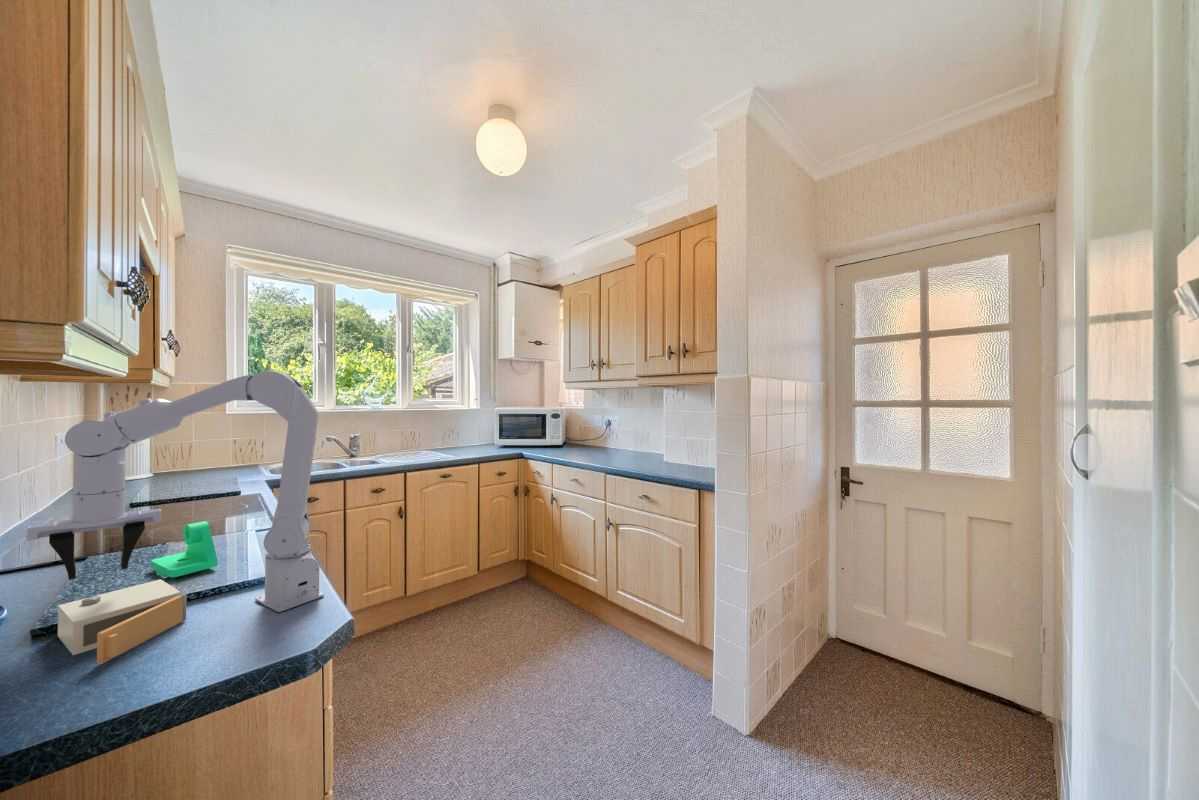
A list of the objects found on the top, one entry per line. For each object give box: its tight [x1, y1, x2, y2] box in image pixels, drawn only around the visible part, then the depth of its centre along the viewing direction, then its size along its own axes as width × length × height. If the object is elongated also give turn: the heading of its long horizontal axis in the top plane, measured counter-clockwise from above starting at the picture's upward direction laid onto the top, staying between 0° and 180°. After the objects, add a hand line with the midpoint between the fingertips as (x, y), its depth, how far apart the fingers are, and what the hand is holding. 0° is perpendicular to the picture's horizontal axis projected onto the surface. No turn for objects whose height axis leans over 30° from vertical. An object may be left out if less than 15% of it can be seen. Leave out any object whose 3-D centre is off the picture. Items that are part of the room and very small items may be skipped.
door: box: [96, 593, 187, 665], centre depth 69 cm, size 13×2×4 cm, turn 0°
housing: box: [57, 579, 182, 656], centre depth 73 cm, size 11×12×6 cm
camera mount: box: [150, 520, 218, 578], centre depth 97 cm, size 12×8×10 cm, turn 61°
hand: (99, 572), depth 72 cm, fingers open, 5 cm apart
